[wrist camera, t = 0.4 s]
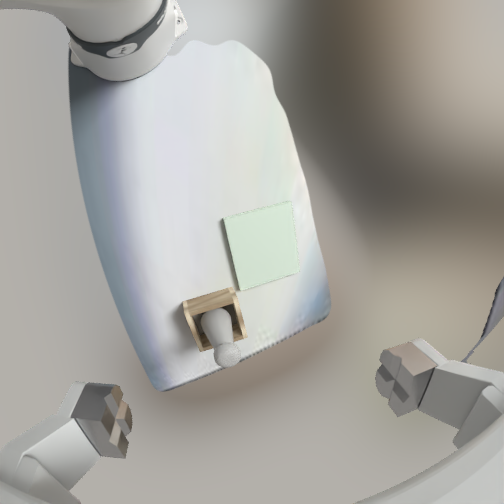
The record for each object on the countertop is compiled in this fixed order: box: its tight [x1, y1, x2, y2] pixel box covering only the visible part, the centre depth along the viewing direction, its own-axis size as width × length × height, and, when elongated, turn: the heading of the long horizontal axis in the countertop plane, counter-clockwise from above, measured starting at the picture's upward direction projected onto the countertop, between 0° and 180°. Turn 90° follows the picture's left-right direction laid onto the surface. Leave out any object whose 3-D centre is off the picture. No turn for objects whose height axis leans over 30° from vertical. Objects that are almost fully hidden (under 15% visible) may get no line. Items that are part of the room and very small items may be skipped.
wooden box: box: [183, 287, 247, 352], centre depth 51 cm, size 10×10×4 cm
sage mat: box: [223, 201, 300, 291], centre depth 49 cm, size 14×12×1 cm
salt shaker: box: [201, 307, 241, 367], centre depth 47 cm, size 6×6×13 cm
